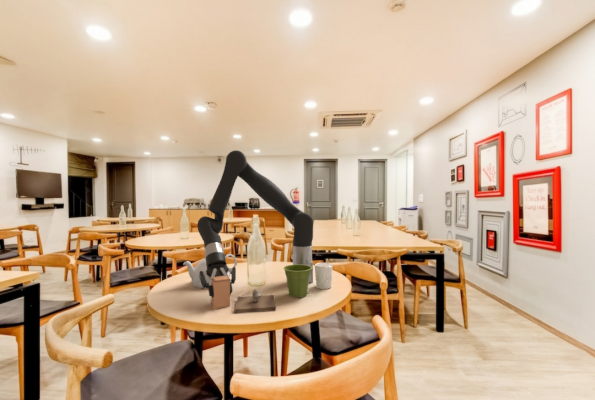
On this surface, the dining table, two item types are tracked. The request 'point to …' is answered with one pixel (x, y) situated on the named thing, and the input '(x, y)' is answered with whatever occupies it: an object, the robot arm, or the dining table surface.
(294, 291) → the plant pot
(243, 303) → the plate
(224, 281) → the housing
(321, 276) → the white cup
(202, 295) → the dining table surface
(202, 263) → the teapot
